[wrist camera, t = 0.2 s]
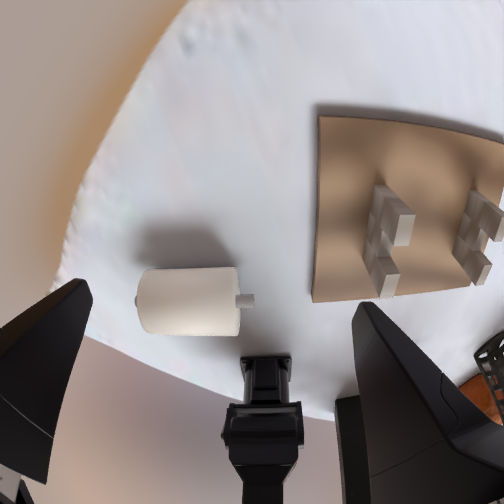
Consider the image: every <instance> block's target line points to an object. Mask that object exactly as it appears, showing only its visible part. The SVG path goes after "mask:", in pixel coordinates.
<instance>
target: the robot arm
mask: <svg viewBox="0 0 504 504" xmlns="http://www.w3.org/2000/svg"><path fill="white" fill-rule="evenodd" d="M92 304H93V297H92V294H91V292H90V289H89V286H88V284H87V282H86V280H84V279H79V278H75V279H73V280H71V281H70V282H68V283H66V284H65V285H63V286H62V287H60V288H59V289H57V290H55V291H54V292H52V293H51V294H49V295H48V296H46V297H45V298H43V299H42V300H40V301H39V302H37V303H36V304H34V305H33V306H31V307H30V308H28V309H27V310H25V311H24V312H23V313H21V314H20V315H18V316H17V317H15V318H14V319H13V320H11V321H10V322H9V323H7V324H6V325H4V326H3V327H2V328H0V504H34V502H33V500H32V498H31V496H30V493H29V491H28V489H27V487H26V484H25V482H24V480H22V479H21V475H23V476H26V477H28V478H30V479H32V480H34V481H37V482H39V483H42V484H44V485H46V482H47V476H48V468H49V462H50V456H51V450H52V445H53V438H54V435H55V430H56V426H57V421H58V417H59V413H60V409H61V405H62V402H63V398H64V394H65V391H66V387H67V384H68V381H69V377H70V374H71V371H72V368H73V365H74V362H75V359H76V356H77V353H78V350H79V348H80V345H81V341H82V339H83V335H84V332H85V328H86V324H87V321H88V317H89V314H90V311H91V307H92ZM352 335H353V347H354V360H355V369H356V375H357V381H358V387H359V393H360V399H361V405H362V412H363V419H364V427H365V434H366V443H367V452H368V462H369V473H370V489H371V504H504V426H502V425H500V424H498V423H496V422H494V421H493V420H492V419H490V418H489V417H488V416H487V415H486V414H485V413H484V412H483V411H482V410H481V409H480V408H479V407H477V406H476V405H475V404H474V403H473V402H472V401H471V400H470V399H469V398H468V397H467V396H466V395H465V394H464V393H463V392H461V391H460V390H459V389H458V388H457V387H456V385H455V384H454V383H453V382H452V381H451V380H450V379H449V378H448V377H447V376H446V375H445V374H444V373H442V371H441V370H440V369H439V368H438V367H437V366H436V365H435V363H434V362H433V361H432V360H431V359H430V358H429V357H428V356H427V355H426V354H425V353H424V352H423V351H422V350H421V349H420V348H419V347H418V346H417V345H416V344H415V343H414V342H413V341H412V340H411V339H410V338H409V337H408V336H407V335H406V334H405V333H404V332H403V331H402V330H401V329H400V328H399V327H398V326H397V325H396V324H395V323H394V322H393V321H392V320H391V319H390V318H389V317H388V316H387V315H386V314H385V313H384V312H383V311H382V310H381V309H380V308H379V307H378V306H376V305H375V304H374V303H373V302H360V303H359V305H358V307H357V310H356V312H355V314H354V317H353V319H352ZM291 362H292V360H291V357H289V356H286V357H255V358H241V359H240V364H241V369H242V374H243V378H244V382H245V384H244V401H243V404H234V403H230V405H229V408H227V414H226V421H225V424H224V427H223V430H222V433H221V438H222V439H223V440H224V442H225V446H226V449H227V450H229V459H230V461H231V463H232V465H233V466H234V468H235V469H236V471H237V473H238V474H239V476H240V478H241V479H242V481H243V496H242V504H283V484H284V482H285V481H286V480H287V478H288V477H289V475H290V474H291V472H292V471H293V469H294V468H295V466H296V464H297V460H298V449H303V448H304V427H303V416H302V406H301V401H297V402H292V403H289V384H288V382H290V377H291Z"/></svg>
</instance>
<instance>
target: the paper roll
mask: <svg viewBox="0 0 504 504" xmlns="http://www.w3.org/2000/svg"><path fill="white" fill-rule="evenodd" d="M135 305H136V307H137V311H138V316H139V320H140V323H141V325H142V327H143V329H144V330H145V331H146V332H147V333H150V334H164V335H188V336H238V333H239V328H240V313H241V308H254V294H241V295H240V286H239V278H238V272H237V269H236V267H217V268H187V269H152V270H147V271H145V272H144V274H143V275H142V277H141V279H140V282H139V285H138V290H137V296H136V297H135Z"/></svg>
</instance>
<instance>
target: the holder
mask: <svg viewBox="0 0 504 504" xmlns="http://www.w3.org/2000/svg"><path fill="white" fill-rule="evenodd" d="M503 339H504V332H503V333H501V334H500V335H498V336H496V337H494V338H493V339H491V340H490V341H489V342H487V343H486V344H485V345H483V346H482V347H481V348H480V349H479V350H478V351H477V352H476V353H475V355H474V359H475V361H476V363H477V365H478V367H479V369H480V371H481V373H482V375H483V377H484V379H485V381H486V383H487V385H488V387H489V389H490V391H491V394H492V396H493V399H494V401H495V404H496V406H497V409H498V412H499V414H500V417H501V420H502V423H503V426H504V414H503V413H504V398H503V399H501V400H498V399H497V396H496V394H495V391H498V390H501V391H502V394H503V397H504V355H503V352H504V344H503V345H502V346H501V347H500V344H501V342H502V340H503ZM499 347H500V348H499ZM487 349H489V350H488V353H487V356H486V357H483V358H479V356H480V355H481V354H482V353H483V352H484V351H486V350H487ZM494 357H495V358H496V360H494ZM486 363H489V364H490V366H491V368H492V371H489V372H486V371H485V370H484V368H483V367H482V364H486ZM493 376H495V377H496V380H497V382H498V384H496V382H495V379H494V377H493ZM489 378H490V380H491V382H492V384H493V385H492V384H491V383H490V381H489ZM500 406H501V407H502V409H501V407H500ZM502 410H503V412H502Z"/></svg>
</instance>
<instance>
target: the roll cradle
mask: <svg viewBox="0 0 504 504" xmlns="http://www.w3.org/2000/svg"><path fill="white" fill-rule="evenodd" d="M503 187H504V144H503V143H499V142H496V141H493V140H489V139H486V138H482V137H478V136H474V135H470V134H466V133H462V132H458V131H453V130H448V129H443V128H438V127H433V126H427V125H421V124H415V123H408V122H401V121H393V120H384V119H373V118H361V117H345V116H318V191H317V220H316V240H315V256H314V270H313V283H312V295H311V296H312V302H313V303H319V302H334V301H347V300H359V299H370V298H379V299H381V298H391V297H393V296H400V295H408V294H417V293H425V292H432V291H440V290H447V289H454V288H460V287H467V286H470V284H471V281H472V282H473V283H474V285H475V286H479V285H483V284H484V282H485V280H486V278H487V276H488V274H489V271H490V269H491V267H492V263H491V262H490V261H489V260H488V259H487V257H486V256H485V255H484V254H483V253H484V250H485V247H486V245H487V242H488V239H489V237H490V238H491V239H492V240H493V241H494V242H498V241H502V239H503V236H504V212H503V211H502V210H501V209H500V208H498V207H499V203H500V200H501V196H502V192H503Z"/></svg>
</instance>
